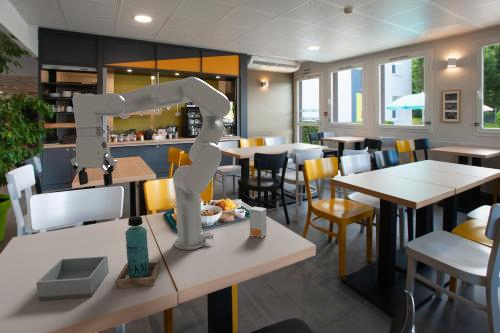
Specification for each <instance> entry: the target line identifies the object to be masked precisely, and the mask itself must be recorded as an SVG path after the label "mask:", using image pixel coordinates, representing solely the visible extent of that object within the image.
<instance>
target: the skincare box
mask: <svg viewBox="0 0 500 333" xmlns="http://www.w3.org/2000/svg"><path fill="white" fill-rule="evenodd" d="M250 235H252V236H251V237H254V236H257V237H256V238H258V237H261V238H262V237H263V238H265V237H266V236H267V208H265V207H262V206H261V207H260V206H259V207H258V206H252V207H251V208H249V236H250ZM265 235H266V236H265ZM264 236H265V237H264ZM261 238H260V239H261ZM263 238H262V239H263Z"/></svg>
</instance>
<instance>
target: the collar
mask: <svg viewBox="0 0 500 333" xmlns="http://www.w3.org/2000/svg"><path fill="white" fill-rule="evenodd" d="M127 267H128V262H126V263H125V264H124V266H123V268H122V269H121V271H120V273H119V274H118V276H117V278H116V279H115V281H114V282H115V284H114V285H115V289H116V290H118V289H128V288H129V289H130V288H142V287H154V286H155V284H156V281H157V279H158V276H159V273H160V270H161V261H160V260H157V261H149V268H150V269H149V271H152V273H151V275H150V276H146V277H145V276H144V277H141V278H131V277H130V278H126V277H127V276H128V268H127Z"/></svg>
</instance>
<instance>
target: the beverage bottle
mask: <svg viewBox="0 0 500 333" xmlns="http://www.w3.org/2000/svg"><path fill="white" fill-rule="evenodd" d="M127 219H128V223H127V224H128V226H129V228H127V229H126V231H125V234H124V235H125V247H126V263H128V267H127V268H128V274H127V276H128V277H130V278H144V277H145V276H146V277H147V275H148V274H149V273H150V270H149V269H150V268H149V262H150V258H149V248H148V235H147V234H148V231H147V228H145V227H144V226H142V225H143V223H144V222H143V217H142V216H140V215H135V216H130V217H128V218H127Z"/></svg>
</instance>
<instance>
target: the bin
mask: <svg viewBox="0 0 500 333" xmlns="http://www.w3.org/2000/svg"><path fill="white" fill-rule="evenodd" d="M108 259H109V258H108V255H101V256H88V257H87V256H86V257H71V258H69V257H68V258H61V259H60V260H59V261H58V262H57V263H56V264H55V265H53V266H52V268H50V269H49V270H48V271H47V272H46V273H45V274H43V275H42V276H41V277H40V278H39V280H38V281H36V290H37V297H38V301H39V302H44V301H46V302H47V301H57V300H69V299H82V298H84V299H85V298H92V297H93V296H94V295H95V293H96V292H97V290H98V288H100V286H101V284H102V283H103V282H104V280H105V279H106V277H107V275H108V274H109V272H110V269H109V260H108Z"/></svg>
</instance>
